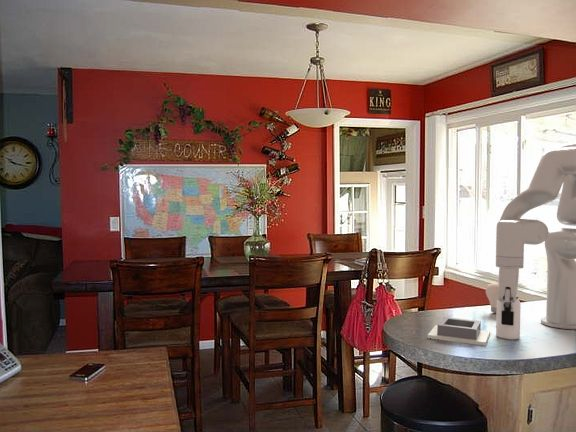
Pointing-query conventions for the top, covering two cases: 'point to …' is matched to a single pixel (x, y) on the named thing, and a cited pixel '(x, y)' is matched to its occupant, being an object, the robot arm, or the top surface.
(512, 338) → the can
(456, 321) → the socket board
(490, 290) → the light bulb
